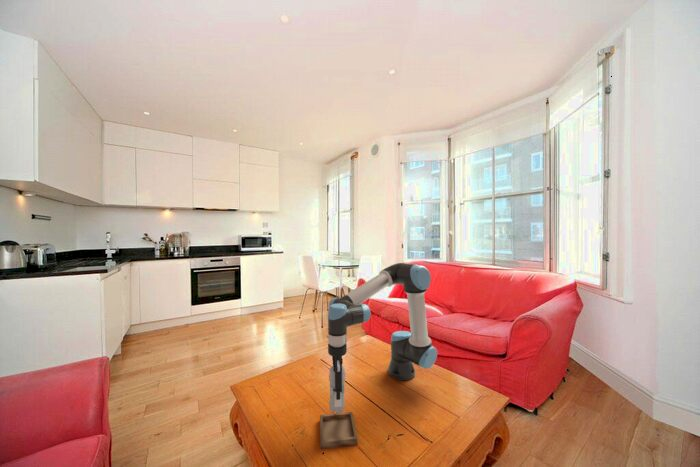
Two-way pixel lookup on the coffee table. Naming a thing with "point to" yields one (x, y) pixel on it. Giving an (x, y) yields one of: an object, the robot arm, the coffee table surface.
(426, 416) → the coffee table surface
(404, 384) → the coffee table surface
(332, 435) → the tray
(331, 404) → the bottle
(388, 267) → the robot arm
